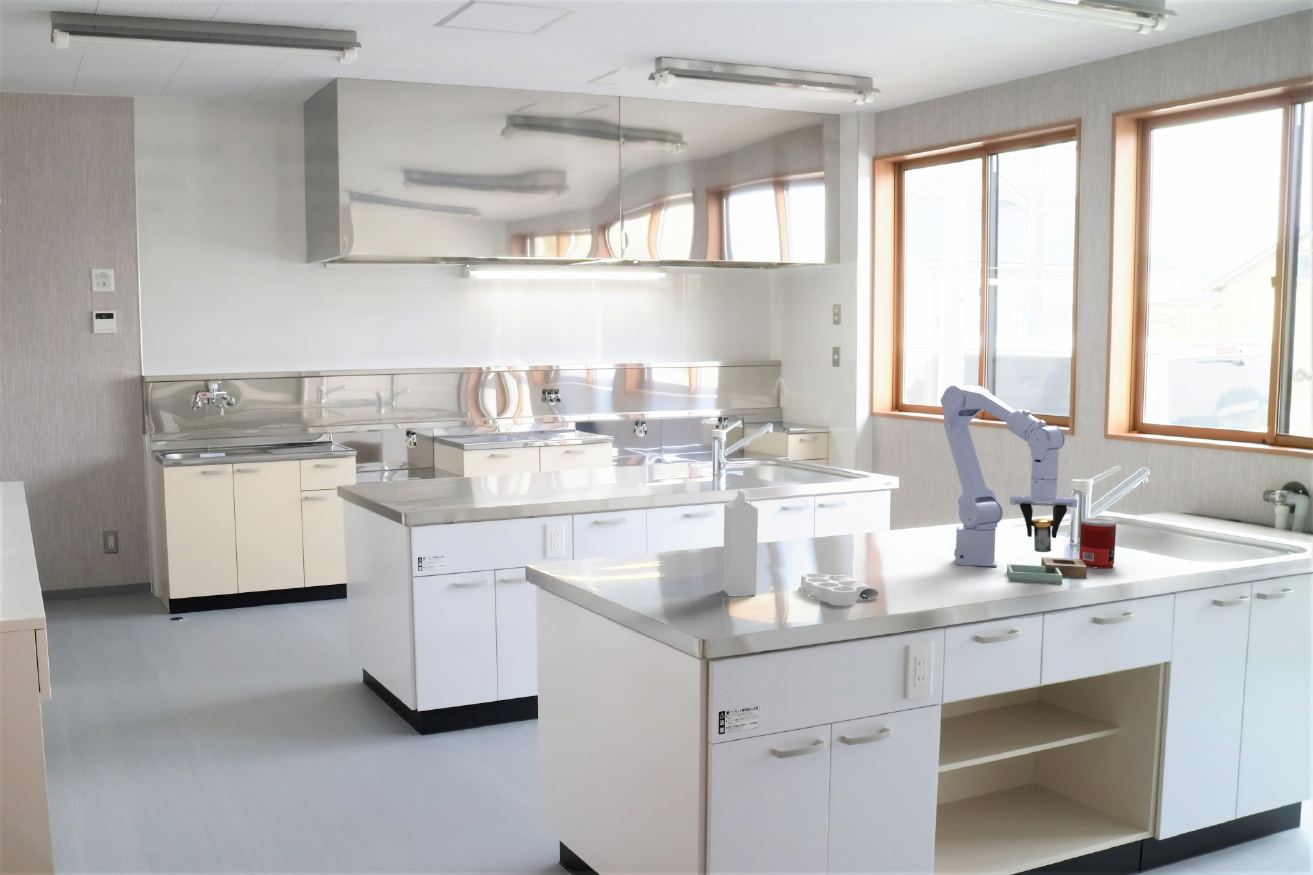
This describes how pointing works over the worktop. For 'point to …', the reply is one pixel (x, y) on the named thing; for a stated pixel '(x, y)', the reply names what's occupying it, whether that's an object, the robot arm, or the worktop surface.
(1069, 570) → the socket block
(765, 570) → the worktop surface
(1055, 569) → the tray
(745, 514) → the milk
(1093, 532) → the canned food
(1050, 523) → the pin
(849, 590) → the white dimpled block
